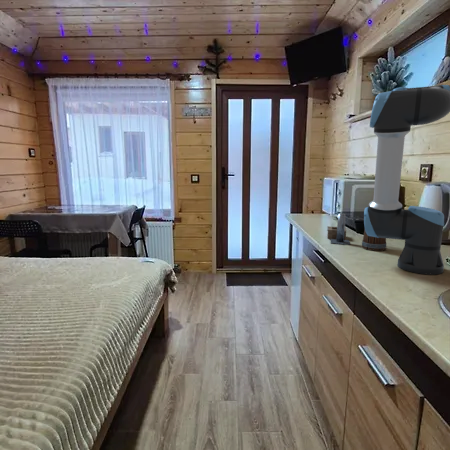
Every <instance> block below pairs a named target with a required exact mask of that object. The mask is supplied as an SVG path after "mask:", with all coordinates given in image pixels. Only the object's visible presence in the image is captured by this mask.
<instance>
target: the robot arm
mask: <svg viewBox="0 0 450 450" xmlns="http://www.w3.org/2000/svg"><path fill="white" fill-rule="evenodd" d="M374 98H375V99H374V100H373V105H372V109H371V114H370V120H369V121H370V122H369V127H370V128H372V129H373V133H374V135H375V136H376V137H377V150H376V160H375V161H376V162H375V173H374V174H375V175H374V187H373V200H372V201H369V203H368V206H367V207H364V210H363V224H364V231H365V232H366V234H367V235H368V236H372V237H377V238H386V239H391V240H401V241H402V240H403V241H404V247H403V249H402V251H401V253H400V254H399V257H398V258H397V264H396V265H397V267H398V268H399V269H402V270H404V271H406V272H410V273H415V274H421V275H430V276H431V275H432V276H433V275H440V274H443V272H444V268H445V265H444V260H443V257H442V253H441V246H442V238H443V230H444V226H445V215H444V213H443V212H442V211H440V210H437V209H435V208H429V207H425V206H417V205H409V207H408V208H407V209H403V204H402V203H401V202H400V201H399V198H400V187H401V177H402V168H403V167H402V166H403V159H404V158H403V157H404V147H405V139H406V135H407V134H409V133H410V132H411V127H412V126H422V125H423V126H424V125H428V124H431V123H434V122H437V121H439V120H441V119H443V118H445V117H446V116H448V114H450V84H437V85H432V86H431V85H430V86H429V85H428V86H419V87H418V86H416V87H407V86H406V87H403V86H402V87H396V88H393V89H392V90H389V91H383V92H380V93H378V94H377V95H376V96H375V97H374Z"/></svg>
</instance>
